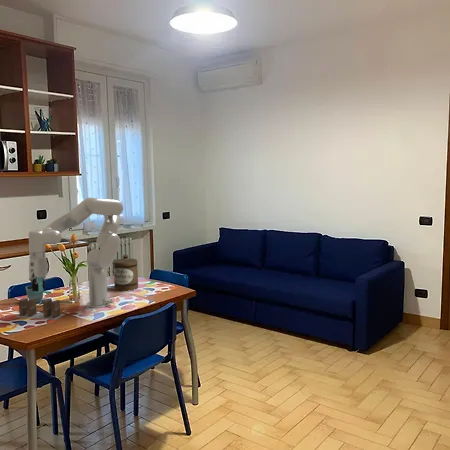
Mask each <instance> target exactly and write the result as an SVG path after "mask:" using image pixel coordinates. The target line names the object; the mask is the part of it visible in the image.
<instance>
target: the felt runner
mask: <svg viewBox="0 0 450 450" xmlns="http://www.w3.org/2000/svg"><path fill="white" fill-rule="evenodd" d="M65 315H66V314H65V313H60V316H58V317H57V318H52V315H51V316H49V317H48V318H44V314H43V312H37V314H35V315H33V316H31V317H28V316H27V314H26V315H24V316H19V314H18V315H16V316H15V318H24V319H25V318H26V319H39V320H40V319H42V320H58V319H60V318H62V317H63V316H65Z"/></svg>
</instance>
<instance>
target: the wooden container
mask: <svg viewBox="0 0 450 450" xmlns="http://www.w3.org/2000/svg"><path fill="white" fill-rule="evenodd" d="M113 273H114V275H113V276H114V278H113V279H114V281H113V282H114V290H115V291H119V292H129V291H128V290H131V291H135V290H137V289H139V272H138V259H136V258H130V257H129V255H128V254H123V255H122V258H120V259H119V258H118V259H114V261H113ZM134 289H135V290H134Z"/></svg>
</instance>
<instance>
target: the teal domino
mask: <svg viewBox="0 0 450 450" xmlns="http://www.w3.org/2000/svg"><path fill="white" fill-rule="evenodd" d="M35 281H36V279H35ZM38 287H39V291H34V293H39V292H41V291H43V292H44V289H43V277H40V278H38Z"/></svg>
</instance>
